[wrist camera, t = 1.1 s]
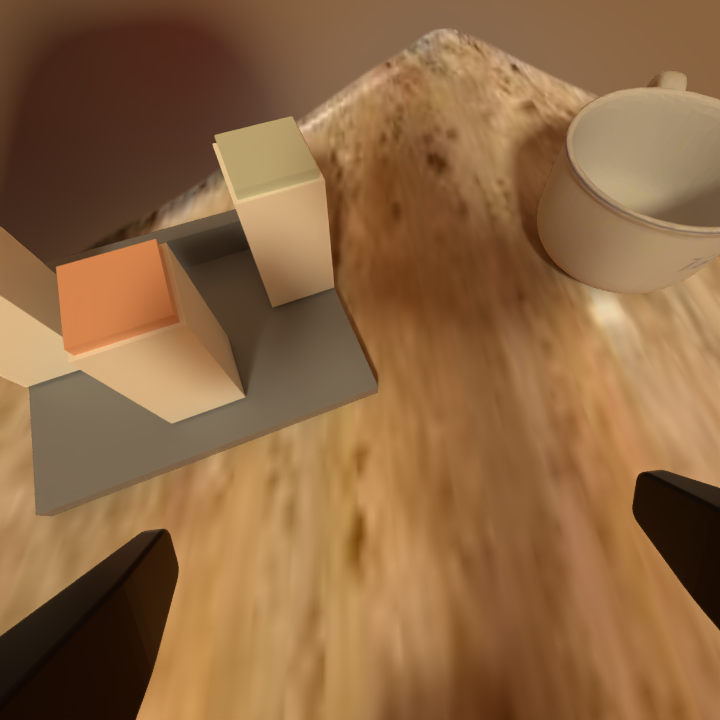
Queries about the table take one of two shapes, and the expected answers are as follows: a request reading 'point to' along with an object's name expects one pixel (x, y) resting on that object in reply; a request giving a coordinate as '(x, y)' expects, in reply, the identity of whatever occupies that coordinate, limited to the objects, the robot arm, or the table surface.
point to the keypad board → (219, 425)
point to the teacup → (636, 189)
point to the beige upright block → (279, 206)
